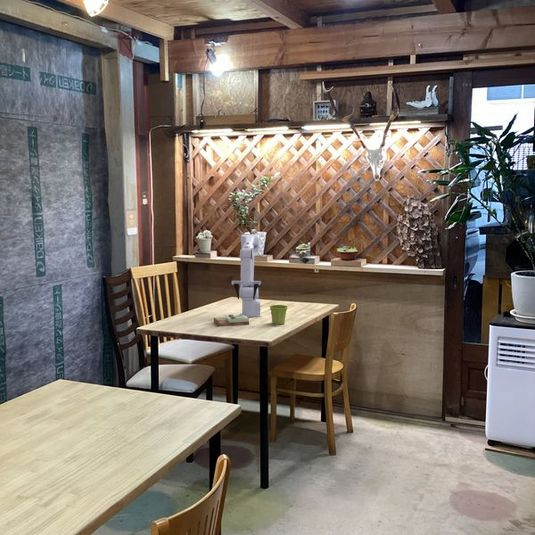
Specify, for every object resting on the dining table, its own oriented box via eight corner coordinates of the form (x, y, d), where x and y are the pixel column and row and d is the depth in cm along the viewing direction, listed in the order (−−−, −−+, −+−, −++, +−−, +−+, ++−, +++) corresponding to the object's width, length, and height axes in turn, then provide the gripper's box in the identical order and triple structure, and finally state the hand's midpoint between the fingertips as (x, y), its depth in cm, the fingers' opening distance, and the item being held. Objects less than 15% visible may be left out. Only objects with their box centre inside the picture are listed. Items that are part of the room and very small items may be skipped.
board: (244, 320, 314) (244, 313, 314) (249, 324, 306) (249, 316, 305) (213, 322, 310) (213, 315, 309) (217, 326, 301) (217, 318, 301)
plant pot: (290, 322, 311) (290, 305, 310) (283, 326, 303) (283, 308, 302) (273, 320, 315) (274, 304, 314) (266, 324, 307) (266, 307, 306)
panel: (244, 318, 314) (244, 315, 314) (248, 321, 306) (248, 318, 306) (225, 319, 311) (225, 316, 311) (229, 322, 303) (229, 319, 303)
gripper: (231, 271, 303) (231, 299, 302) (261, 272, 303) (260, 299, 303) (232, 272, 310) (231, 299, 309) (260, 272, 310) (260, 299, 310)
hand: (246, 299), depth 307 cm, fingers open, 7 cm apart
